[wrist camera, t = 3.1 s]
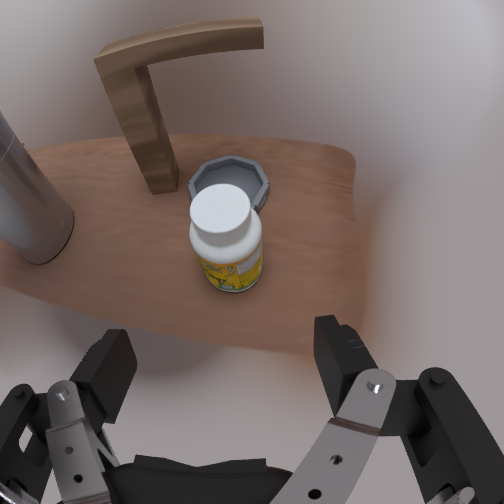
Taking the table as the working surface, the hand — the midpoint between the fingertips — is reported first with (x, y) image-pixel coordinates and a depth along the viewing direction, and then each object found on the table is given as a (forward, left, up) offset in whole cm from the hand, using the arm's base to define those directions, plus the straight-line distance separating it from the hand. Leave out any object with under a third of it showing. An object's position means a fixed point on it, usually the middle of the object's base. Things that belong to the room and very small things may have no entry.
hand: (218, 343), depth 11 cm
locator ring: (-9, +16, -13) cm, 22 cm away
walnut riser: (-13, +17, -13) cm, 25 cm away
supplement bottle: (-5, +8, -13) cm, 16 cm away
